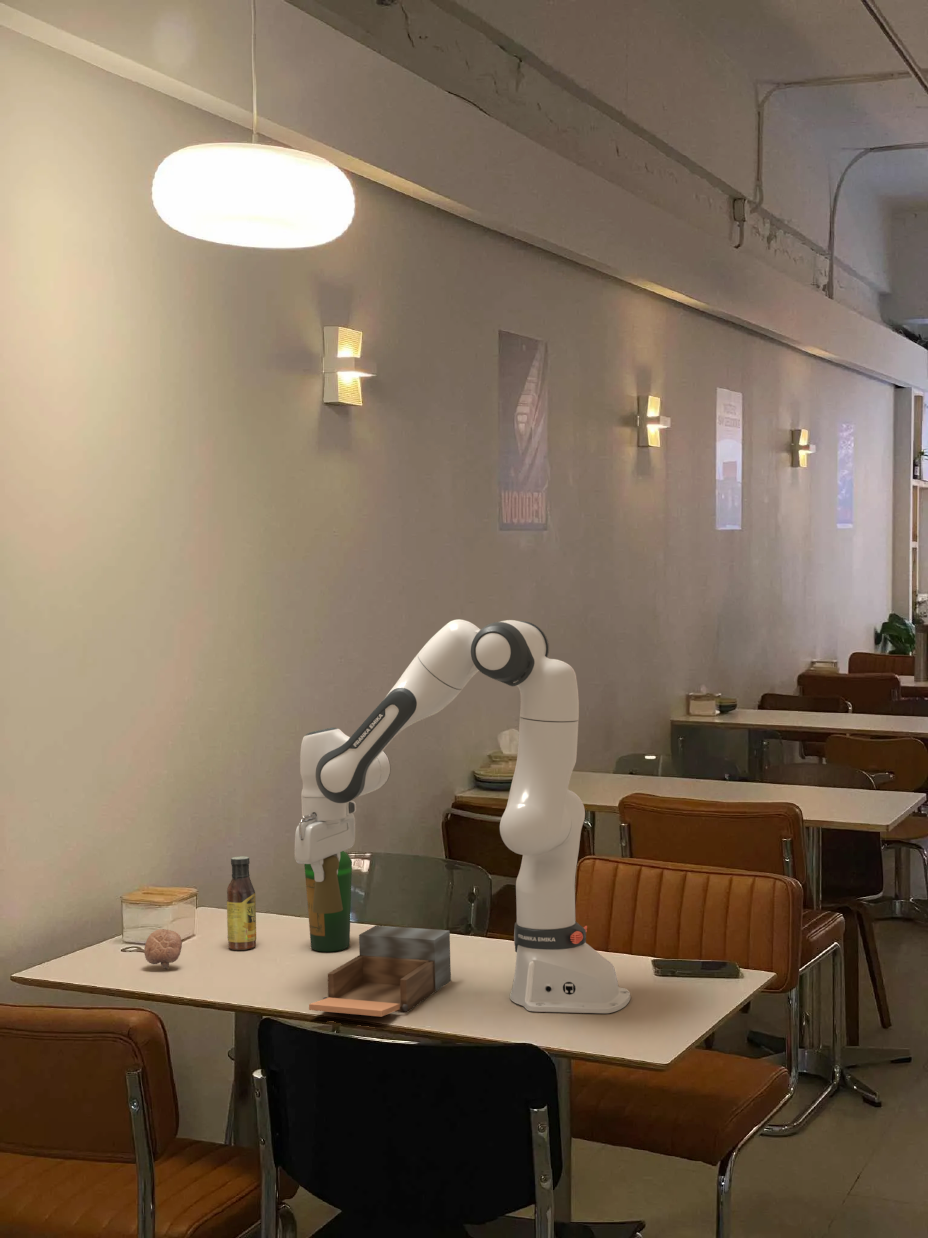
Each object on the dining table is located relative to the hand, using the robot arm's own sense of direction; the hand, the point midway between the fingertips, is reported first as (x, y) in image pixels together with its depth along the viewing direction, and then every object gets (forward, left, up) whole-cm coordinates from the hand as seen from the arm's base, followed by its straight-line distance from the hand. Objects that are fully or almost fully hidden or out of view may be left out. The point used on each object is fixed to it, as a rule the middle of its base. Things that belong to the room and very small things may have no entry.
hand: (326, 878), depth 278 cm
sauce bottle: (+30, -18, -21) cm, 41 cm away
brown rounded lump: (+37, +2, -21) cm, 43 cm away
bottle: (+11, -23, -21) cm, 33 cm away
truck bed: (-16, +6, -20) cm, 26 cm away
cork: (0, 0, -7) cm, 7 cm away
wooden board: (-16, +17, -19) cm, 30 cm away
